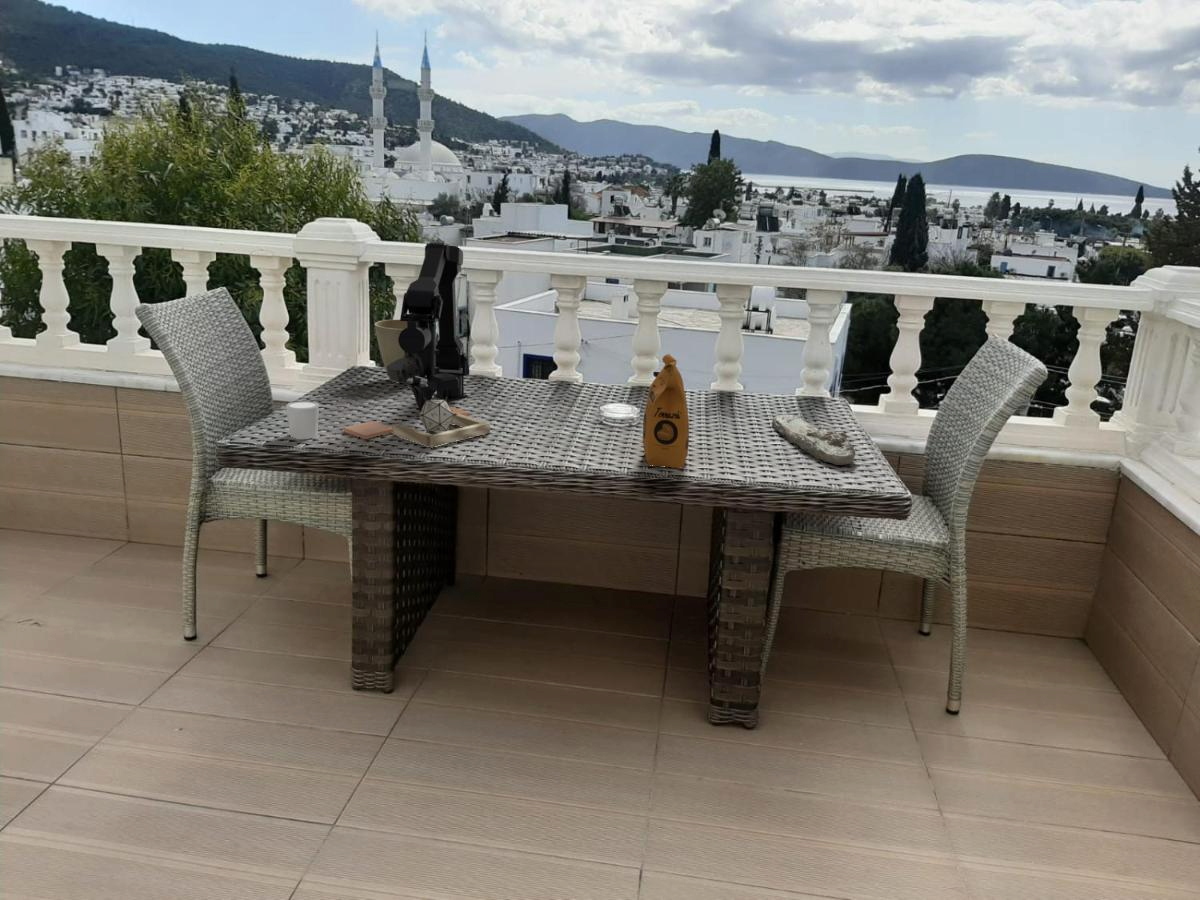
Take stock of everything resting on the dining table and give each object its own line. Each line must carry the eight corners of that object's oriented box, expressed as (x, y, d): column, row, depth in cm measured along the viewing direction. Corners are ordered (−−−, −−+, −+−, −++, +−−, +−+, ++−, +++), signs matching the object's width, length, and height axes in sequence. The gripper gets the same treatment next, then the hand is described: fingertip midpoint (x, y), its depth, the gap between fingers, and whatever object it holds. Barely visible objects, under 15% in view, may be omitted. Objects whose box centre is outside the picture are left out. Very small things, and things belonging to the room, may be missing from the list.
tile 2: (446, 409, 222) (446, 405, 222) (468, 416, 217) (468, 412, 217) (421, 414, 216) (421, 411, 216) (443, 421, 212) (443, 417, 211)
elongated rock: (798, 429, 226) (761, 432, 224) (798, 408, 225) (761, 411, 223) (868, 465, 193) (825, 469, 191) (869, 442, 192) (826, 445, 190)
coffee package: (639, 467, 186) (645, 363, 179) (641, 450, 198) (648, 351, 191) (687, 471, 185) (695, 366, 178) (687, 453, 197) (694, 354, 190)
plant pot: (367, 384, 243) (365, 326, 239) (389, 373, 257) (387, 317, 253) (420, 389, 241) (419, 330, 236) (438, 377, 255) (438, 321, 250)
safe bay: (452, 422, 212) (452, 411, 211) (489, 433, 204) (490, 423, 203) (393, 435, 199) (393, 424, 199) (431, 448, 191) (431, 437, 191)
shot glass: (327, 433, 198) (325, 403, 196) (307, 441, 192) (305, 410, 190) (300, 429, 200) (299, 399, 198) (280, 437, 194) (278, 406, 192)
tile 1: (373, 425, 206) (373, 421, 206) (394, 432, 201) (394, 428, 201) (343, 431, 200) (343, 427, 200) (365, 439, 195) (364, 435, 195)
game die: (440, 450, 203) (447, 425, 195) (406, 432, 202) (412, 407, 195) (458, 423, 208) (466, 397, 200) (425, 406, 208) (432, 380, 200)
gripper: (367, 341, 199) (368, 408, 204) (420, 356, 188) (419, 427, 193) (407, 336, 208) (407, 401, 212) (460, 351, 196) (459, 419, 201)
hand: (422, 412), depth 204 cm, fingers closed
